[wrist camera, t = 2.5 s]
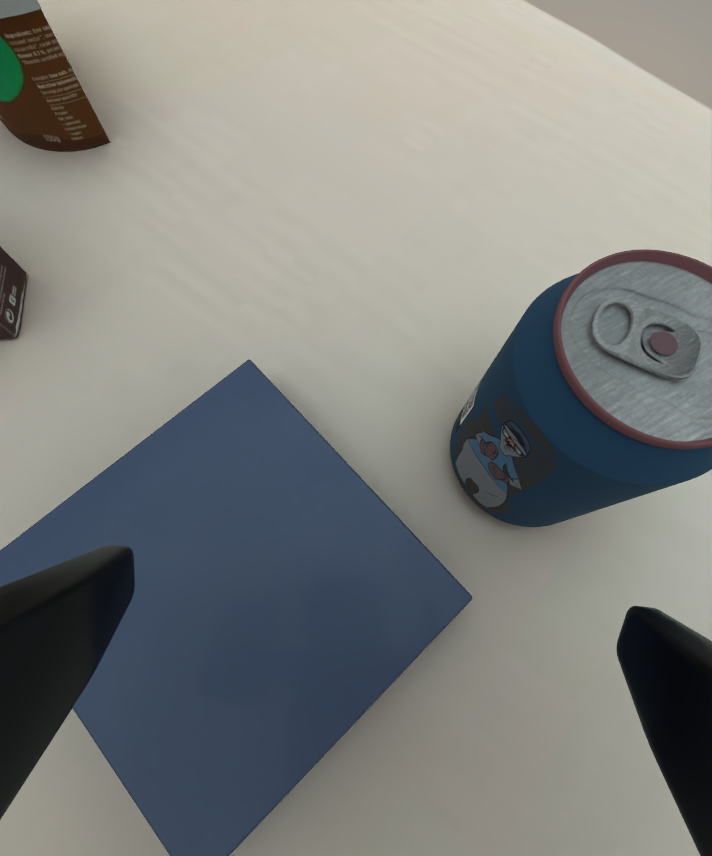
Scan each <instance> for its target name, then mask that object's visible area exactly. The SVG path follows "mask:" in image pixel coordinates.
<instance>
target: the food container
mask: <svg viewBox="0 0 712 856" xmlns="http://www.w3.org/2000/svg"><path fill="white" fill-rule="evenodd" d="M0 120H1V121H2V122H3V124H4V125H5V126H6V127H7V128H8V129H9V131H10V132H11V133H12V134H13V135H15V136H16V137H17V138H18V139H20V140H21V141H23V142H25V143H27V144H29V145H32V146H34V147H37V148H41V149H45V150H53V151H76V150H84V149H88V148H93V147H97V146H100V145H102V144H105V143H108V142H110V141H109V139H108V137H107V135H106V133H105V131H104V129H103V128H102V126H101V124H100V122H99V120H98V118H97V116H96V114H95V112H94V110H93V108H92V106H91V104H90V103H89V101H88V99H87V97H86V95H85V93H84V91H83V89H82V87H81V85H80V83H79V81H78V80H77V78H76V76H75V74H74V72H73V70H72V68H71V66H70V64H69V62H68V60H67V58H66V56H65V55H64V53H63V51H62V49H61V47H60V45H59V43H58V41H57V39H56V37H55V35H54V33H53V32H52V30H51V28H50V26H49V24H48V22H47V20H46V18H45V16H44V14H43V12H42V10H41V7H40V5H39V3H38V1H37V0H0Z"/></svg>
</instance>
